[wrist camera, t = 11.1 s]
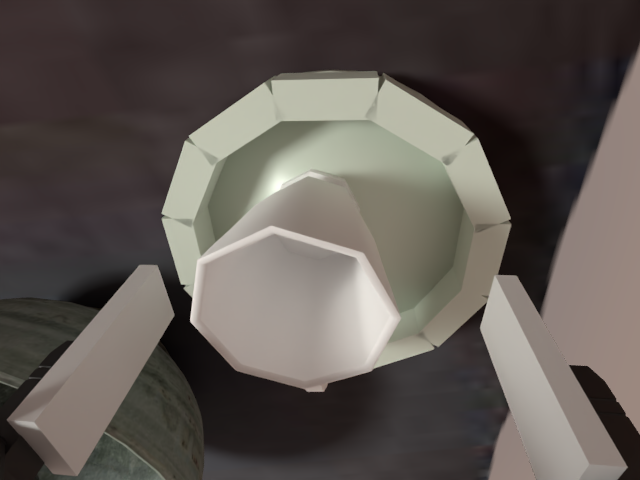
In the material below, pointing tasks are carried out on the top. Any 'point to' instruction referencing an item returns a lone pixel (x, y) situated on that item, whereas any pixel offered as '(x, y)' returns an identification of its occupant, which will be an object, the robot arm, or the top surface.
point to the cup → (297, 288)
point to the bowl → (132, 415)
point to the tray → (355, 188)
